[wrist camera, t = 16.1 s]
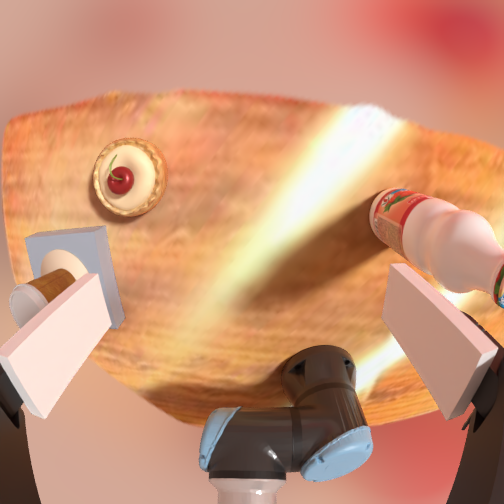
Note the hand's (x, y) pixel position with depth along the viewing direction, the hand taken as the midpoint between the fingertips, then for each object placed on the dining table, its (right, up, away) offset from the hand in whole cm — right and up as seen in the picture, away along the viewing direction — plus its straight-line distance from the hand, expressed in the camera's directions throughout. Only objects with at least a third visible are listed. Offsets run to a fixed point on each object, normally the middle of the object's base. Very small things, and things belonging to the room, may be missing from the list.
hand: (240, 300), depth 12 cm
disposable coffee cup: (-33, -4, +31) cm, 45 cm away
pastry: (-18, +14, +29) cm, 37 cm away
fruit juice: (+24, +8, +31) cm, 39 cm away
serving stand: (-33, -2, +35) cm, 48 cm away
